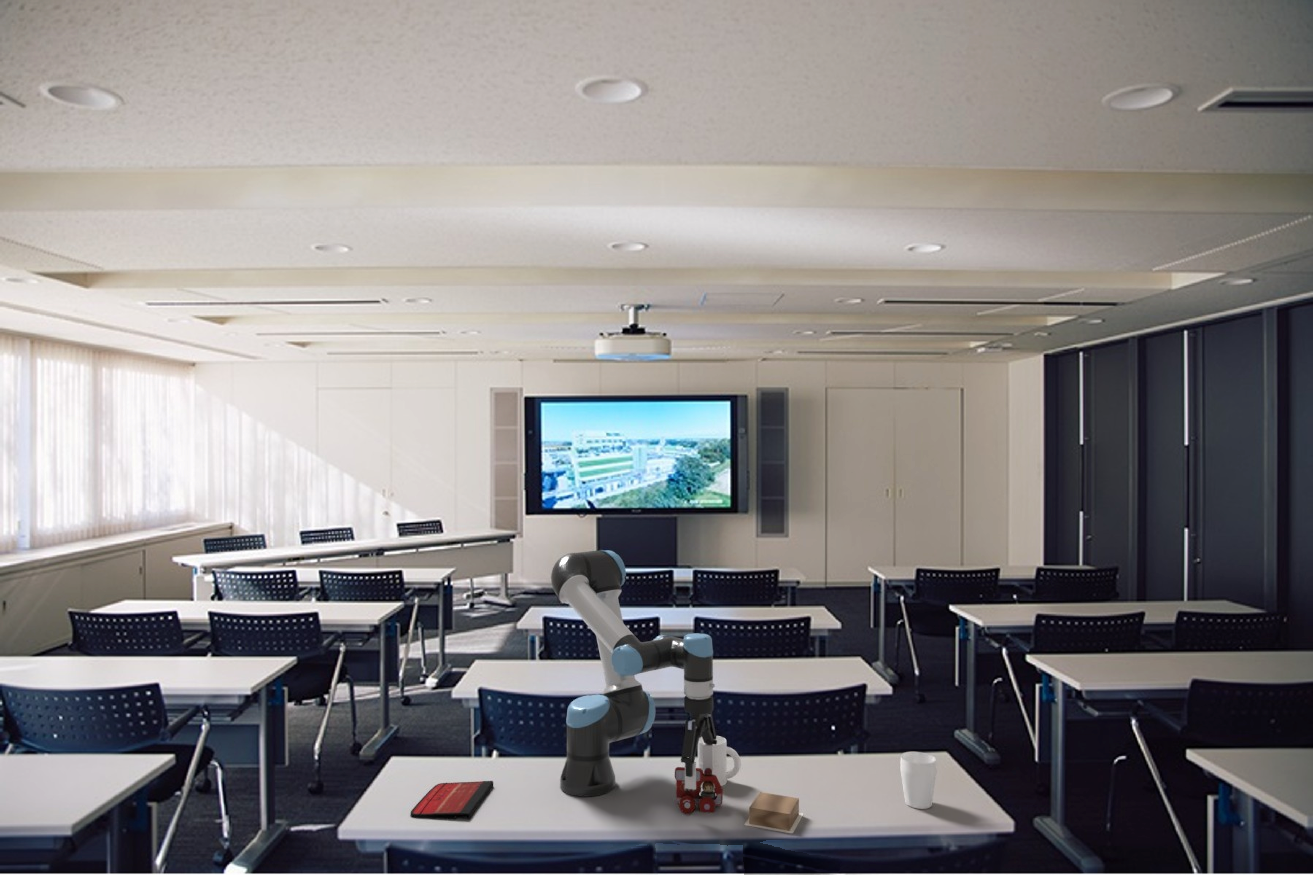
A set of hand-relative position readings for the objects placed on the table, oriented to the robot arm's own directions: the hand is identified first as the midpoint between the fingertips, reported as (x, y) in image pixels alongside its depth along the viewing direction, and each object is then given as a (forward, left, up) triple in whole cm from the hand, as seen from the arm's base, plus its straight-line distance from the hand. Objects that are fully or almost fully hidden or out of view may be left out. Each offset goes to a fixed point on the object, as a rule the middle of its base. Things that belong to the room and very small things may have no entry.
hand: (699, 778), depth 213 cm
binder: (-61, -21, -8) cm, 65 cm away
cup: (+52, +25, -8) cm, 58 cm away
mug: (0, +17, -8) cm, 19 cm away
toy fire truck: (0, 0, -8) cm, 8 cm away
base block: (+20, 0, -7) cm, 21 cm away
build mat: (+20, 0, -8) cm, 21 cm away
